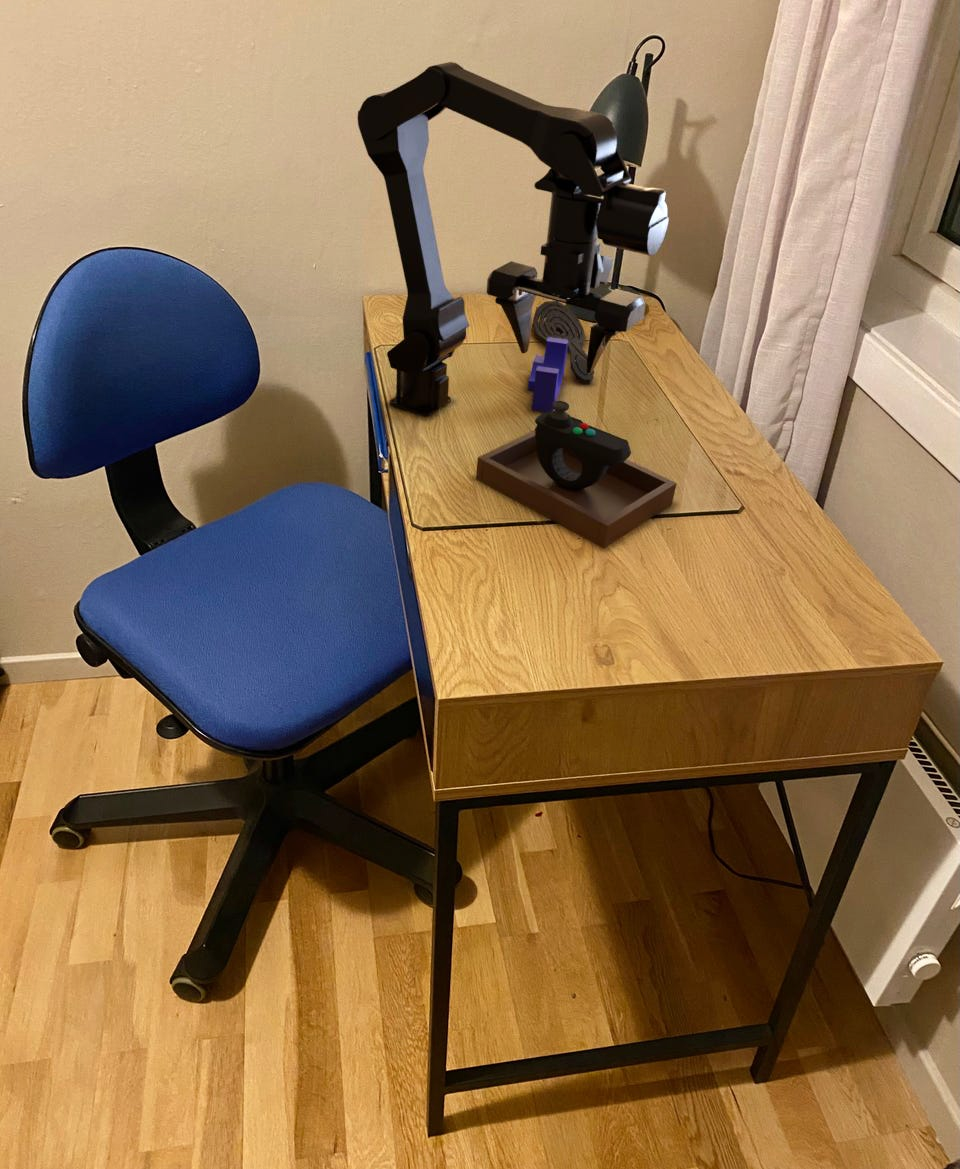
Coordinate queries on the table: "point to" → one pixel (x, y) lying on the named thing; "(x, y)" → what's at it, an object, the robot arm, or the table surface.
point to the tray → (577, 491)
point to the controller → (576, 448)
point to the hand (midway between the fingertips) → (556, 362)
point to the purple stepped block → (548, 374)
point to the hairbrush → (563, 334)
